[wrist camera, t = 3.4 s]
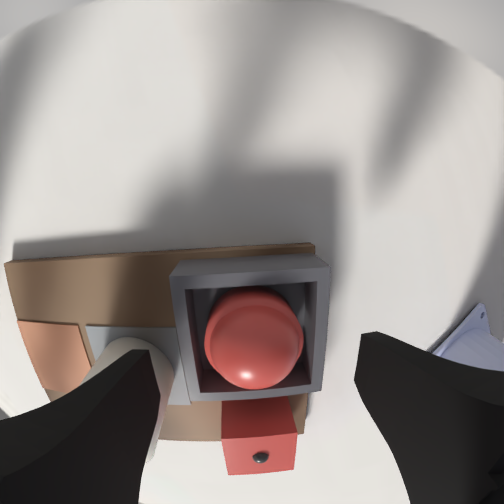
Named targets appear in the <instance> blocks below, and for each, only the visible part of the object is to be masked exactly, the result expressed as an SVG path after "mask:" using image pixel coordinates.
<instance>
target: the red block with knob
mask: <svg viewBox="0 0 504 504" xmlns="http://www.w3.org/2000/svg"><path fill="white" fill-rule="evenodd" d="M297 434H298V432H297V428H296V425H295V421H294V418H293V414H292V411H291V407H290V404H289V400H288V396H279V397H270V398H258V399H245V400H225V401H222V413H221V441H222V446H223V451H224V456H225V461H226V466H227V471H228V475H245V474H259V473H270V472H279V471H286V470H294V461H295V453H296V444H297Z"/></svg>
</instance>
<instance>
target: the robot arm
mask: <svg viewBox="0 0 504 504" xmlns="http://www.w3.org/2000/svg"><path fill="white" fill-rule="evenodd" d="M354 381H355V384H356V387H357V389H358V392H359V394H360V397H361V399H362V401H363V403H364V405H365V407H366V408H367V410H368V412H369V413H370V415H371V417H372V419H373V420H374V422H375V424H376V425H377V427H378V429H379V430H380V432H381V434H382V435H383V437H384V439H385V440H386V442H387V444H388V445H389V447H390V449H391V451H392V453H393V455H394V458H395V460H396V463H397V465H398V468H399V470H400V473H401V475H402V478H403V481H404V484H405V487H406V490H407V493H408V496H409V500H410V504H504V343H503V342H501V341H500V340H498V339H497V338H495V337H494V336H492V335H491V333H490V327H489V322H488V317H487V313H486V308H485V305H484V304H482V303H479V304H477V306H476V307H475V308H474V309H473V310H472V311H471V313H470V314H469V315H468V316H467V317H466V318H465V320H464V321H463V322H462V323H461V324H460V325H459V326H458V327H457V328H456V329H455V330H454V332H453V333H452V334H451V335H450V336H449V337H448V338H447V339H446V340H445V341H444V342H443V343H442V344H441V345H440V346H439V347H438V348H437V349H436V350H435V351H434V352H433V353H432V354H431V353H429V352H426V351H424V350H421V349H419V348H417V347H414V346H412V345H410V344H407V343H405V342H403V341H400V340H398V339H396V338H393V337H391V336H388V335H386V334H383V333H380V332H377V331H376V332H370V333H364V334H361V340H360V347H359V353H358V360H357V366H356V371H355V377H354ZM160 398H161V394H160V391H159V387H158V384H157V380H156V376H155V372H154V368H153V364H152V360H151V356H150V352H149V350H147V349H132V350H130V351H128V352H127V353H125V354H124V355H122V356H121V357H120V358H118V359H117V360H116V361H114V362H113V363H111V364H110V365H109V366H107V367H106V368H105V369H103V370H102V371H100V372H99V373H98V374H96V375H95V376H94V377H92V378H91V379H89V380H88V381H86V382H84V383H83V384H81V385H80V386H78V387H77V388H75V389H74V390H72V391H71V392H69V393H67V394H65V395H64V396H62V397H60V398H58V399H56V400H54V401H52V402H50V403H48V404H46V405H44V406H42V407H39V408H37V409H34V410H31V411H29V412H26V413H23V414H21V415H18V416H15V417H11V418H7V419H4V420H0V504H138V500H139V491H140V483H141V477H142V472H143V468H144V464H145V461H146V457H147V454H148V450H149V447H150V443H151V440H152V436H153V433H154V429H155V426H156V422H157V419H158V412H159V405H160Z"/></svg>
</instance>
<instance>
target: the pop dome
mask: <svg viewBox="0 0 504 504" xmlns="http://www.w3.org/2000/svg"><path fill="white" fill-rule="evenodd" d="M204 346H205V352H206V356H207V358H208V360H209V362H210V364H211V365H212V366H213V368H214V369H215V370H216V371H217V372H219V373H220V374H221V375H222V376H223V377H224V378H225V379H226V380H227V381H229V382H230V383H232V384H234V385H236V386H238V387H241V388H245V389H263V388H268V387H270V386H273V385H275V384H277V383H279V382H280V381H282V380H283V379H284V378H285V377H286V376H287V375H288V374H289V373H290V372H291V371H292V369H293V367H294V365H295V363H296V361H297V360H298V358H299V356H300V354H301V351H302V348H303V332H302V328H301V326H300V324H299V322H298V320H297V318H296V316H295V314H294V312H293V310H292V308H291V306H290V304H289V303H288V301H287V300H286V299H285V298H284V297H283V296H282V295H281V294H280V293H278V292H277V291H275V290H273V289H271V288H268V287H265V286H260V285H256V286H240V287H236V288H234V289H231V290H230V291H228V292H226V293H225V294H223V295H222V296H221V297H220V298H219V299H218V300H217V301H216V302H215V303H214V305H213V306H212V308H211V310H210V313H209V316H208V321H207V327H206V333H205V341H204Z"/></svg>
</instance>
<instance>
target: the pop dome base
mask: <svg viewBox="0 0 504 504" xmlns="http://www.w3.org/2000/svg"><path fill="white" fill-rule="evenodd" d="M330 273H331V267H330V266H329V265H328V264H326V263H325V262H324V261H323V260H321V259H320V258H319V257H318V256H316V255H315V254H314V253H300V254H283V255H265V256H247V257H229V258H211V259H192V260H180V261H179V263H178V264H177V266H176V267H175V269H174V270H173V271H172V273H171V274H170V276H169V280H170V288H171V295H172V303H173V310H174V316H175V323H176V329H177V335H178V341H179V346H180V352H181V357H182V363H183V368H184V373H185V378H186V383H187V387H188V392H189V397H190V401H225V400H245V399H258V398H270V397H279V396H288V395H296V394H303V393H310V392H317V391H321V388H322V380H323V371H324V361H325V351H326V340H327V327H328V313H329V296H330ZM256 285H260V286H265V287H268V288H271V289H273V290H275V291H277V292H278V293H280V294H281V295H282V296H283V297H284V298H285V299H286V300H287V301H288V303H289V304H290V306H291V308H292V310H293V312H294V314H295V316H296V318H297V320H298V322H299V324H300V326H301V328H302V332H303V348H302V351H301V354H300V356H299V358H298V360H297V361H296V363H295V365H294V367H293V369H292V371H291V372H290V373H289V374H288V375H287V376H286V377H285V378H284V379H283V380H282V381H280V382H279V383H277V384H275V385H273V386H270V387H268V388H263V389H245V388H241V387H238V386H236V385H234V384H232V383H230V382H229V381H227V380H226V379H225V378H224V377H223V376H222V375H221V374H220V373H219V372H217V371H216V370H215V369H214V368H213V366H212V365H211V364H210V362H209V360H208V358H207V356H206V352H205V346H204V341H205V333H206V327H207V321H208V316H209V313H210V310H211V308H212V306H213V305H214V303H215V302H216V301H217V300H218V299H219V298H220V297H221V296H222V295H223V294H225V293H226V292H228V291H230V290H231V289H234V288H236V287H240V286H256Z"/></svg>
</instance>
